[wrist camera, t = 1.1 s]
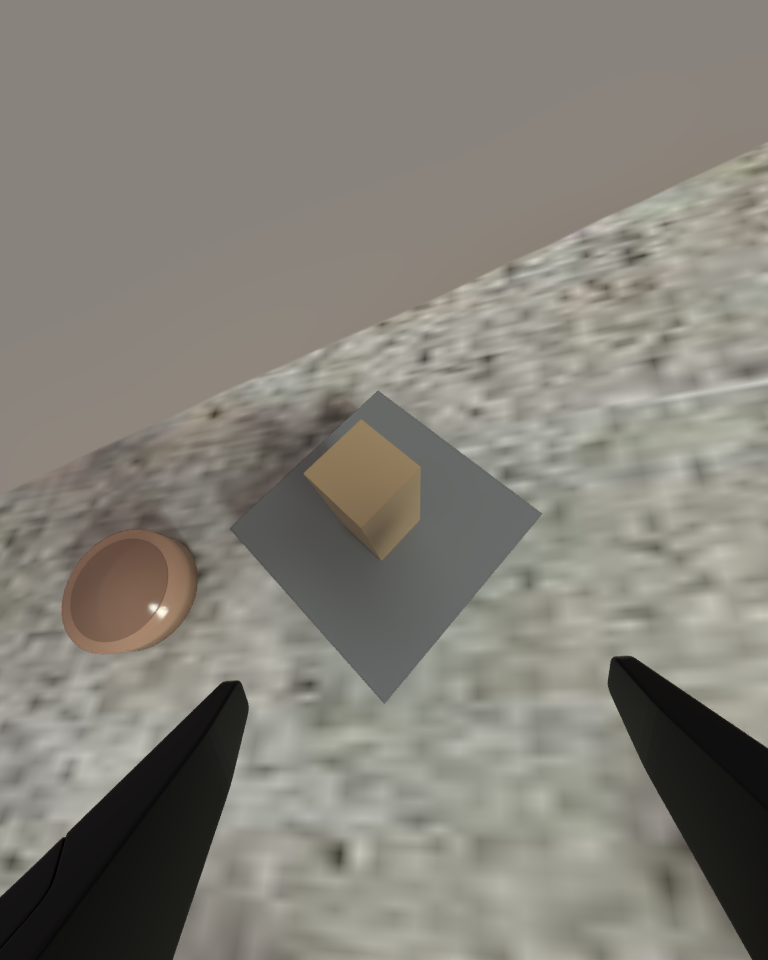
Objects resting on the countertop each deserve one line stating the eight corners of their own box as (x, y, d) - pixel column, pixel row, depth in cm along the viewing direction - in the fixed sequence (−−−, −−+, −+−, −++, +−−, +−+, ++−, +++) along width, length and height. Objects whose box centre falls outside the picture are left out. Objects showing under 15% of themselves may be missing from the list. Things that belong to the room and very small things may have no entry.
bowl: (135, 676, 22) (94, 684, 19) (83, 593, 24) (40, 590, 21) (225, 589, 23) (199, 584, 20) (168, 518, 25) (138, 506, 23)
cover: (391, 687, 20) (360, 759, 10) (261, 544, 24) (137, 483, 13) (520, 533, 23) (608, 455, 12) (384, 426, 26) (361, 296, 16)
